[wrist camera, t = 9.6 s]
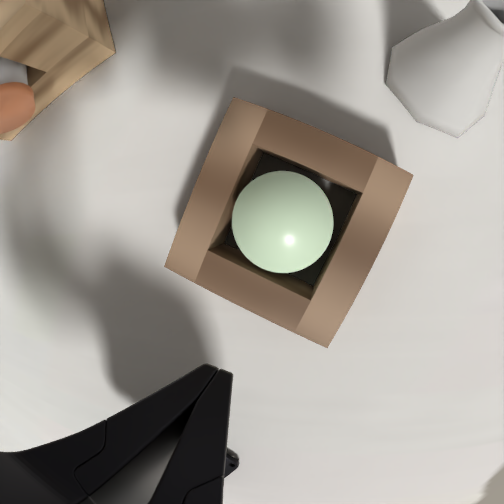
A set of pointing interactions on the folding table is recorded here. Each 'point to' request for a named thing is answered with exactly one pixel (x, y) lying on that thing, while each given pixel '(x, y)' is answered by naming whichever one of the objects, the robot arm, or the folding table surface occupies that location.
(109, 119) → the folding table surface
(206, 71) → the folding table surface
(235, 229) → the table button
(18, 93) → the plunger
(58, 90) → the wooden box
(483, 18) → the flask
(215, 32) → the folding table surface
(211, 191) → the button housing
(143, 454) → the robot arm
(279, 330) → the folding table surface
